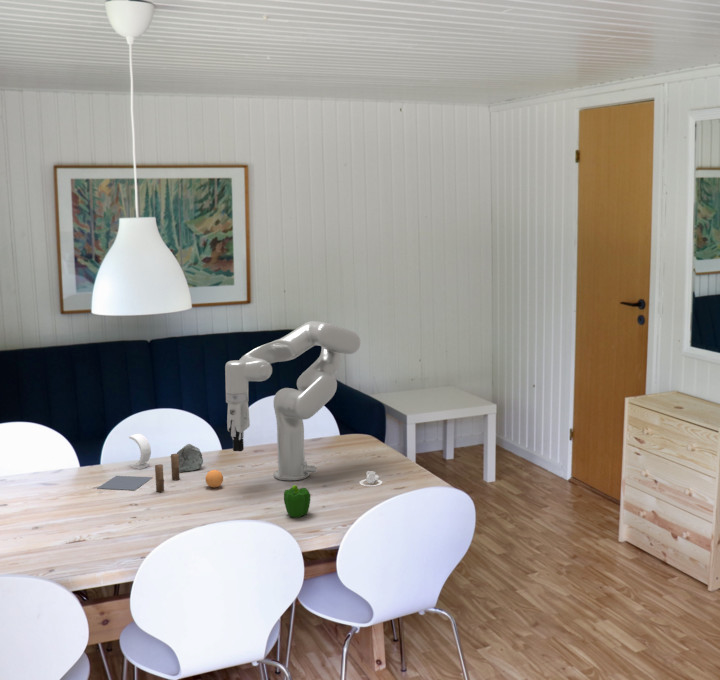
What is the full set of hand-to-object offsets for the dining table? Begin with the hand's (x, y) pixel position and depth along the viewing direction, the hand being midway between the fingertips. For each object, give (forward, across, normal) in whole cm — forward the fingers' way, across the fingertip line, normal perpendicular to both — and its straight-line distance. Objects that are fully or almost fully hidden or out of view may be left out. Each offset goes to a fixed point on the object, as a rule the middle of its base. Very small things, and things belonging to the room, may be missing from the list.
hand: (238, 450), depth 275 cm
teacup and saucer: (+13, +14, -46) cm, 50 cm away
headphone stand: (+14, +20, +45) cm, 51 cm away
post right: (+14, +7, +26) cm, 30 cm away
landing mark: (+14, +1, +42) cm, 44 cm away
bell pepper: (+14, -21, -26) cm, 36 cm away
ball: (+10, +1, +9) cm, 14 cm away
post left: (+14, -6, +26) cm, 30 cm away
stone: (+14, +20, +26) cm, 35 cm away
